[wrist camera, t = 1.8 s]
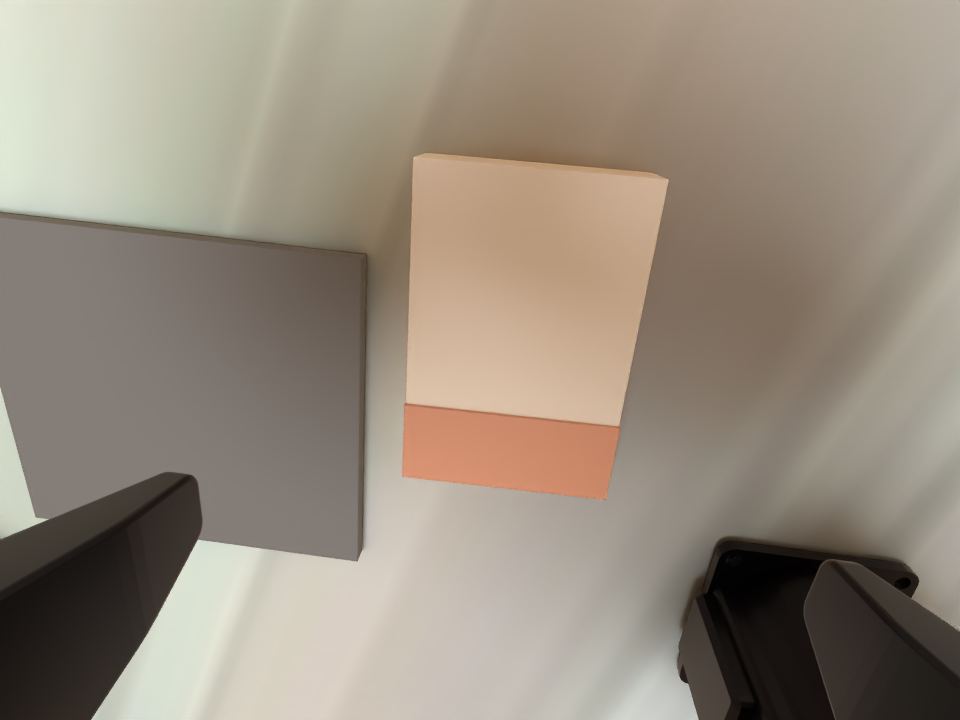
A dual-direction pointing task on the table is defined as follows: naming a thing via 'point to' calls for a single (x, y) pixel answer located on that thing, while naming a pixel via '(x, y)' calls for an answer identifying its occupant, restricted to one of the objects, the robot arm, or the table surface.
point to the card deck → (523, 319)
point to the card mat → (188, 376)
